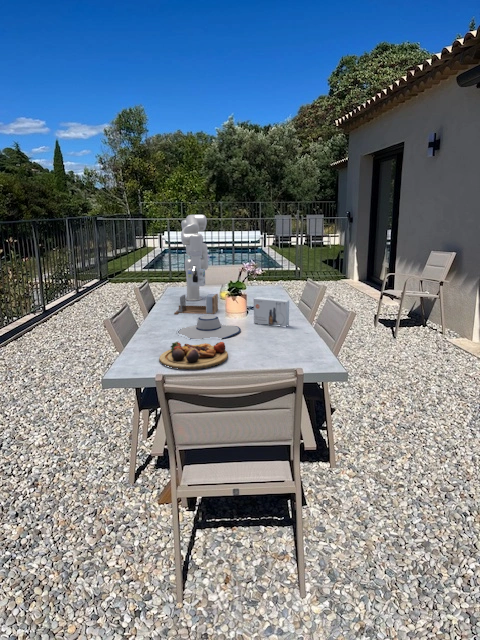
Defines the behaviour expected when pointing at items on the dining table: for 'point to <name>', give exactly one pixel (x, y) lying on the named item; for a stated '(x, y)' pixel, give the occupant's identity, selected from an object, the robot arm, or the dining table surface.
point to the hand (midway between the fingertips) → (196, 281)
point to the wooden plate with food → (194, 356)
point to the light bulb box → (200, 278)
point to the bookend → (182, 304)
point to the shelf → (201, 307)
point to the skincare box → (271, 311)
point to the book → (209, 303)
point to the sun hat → (209, 329)
